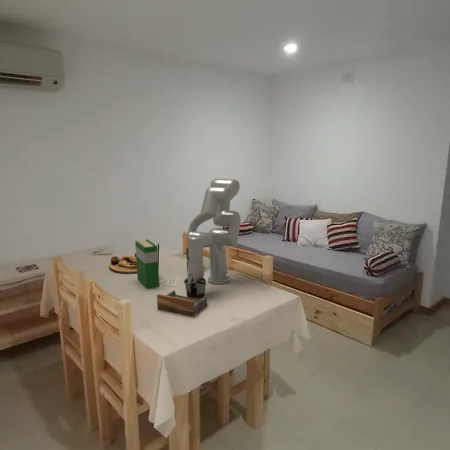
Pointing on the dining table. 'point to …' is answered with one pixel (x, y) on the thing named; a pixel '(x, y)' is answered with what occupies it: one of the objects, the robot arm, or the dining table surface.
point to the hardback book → (147, 264)
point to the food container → (200, 288)
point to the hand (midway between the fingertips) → (196, 291)
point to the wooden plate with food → (124, 264)
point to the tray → (180, 304)
